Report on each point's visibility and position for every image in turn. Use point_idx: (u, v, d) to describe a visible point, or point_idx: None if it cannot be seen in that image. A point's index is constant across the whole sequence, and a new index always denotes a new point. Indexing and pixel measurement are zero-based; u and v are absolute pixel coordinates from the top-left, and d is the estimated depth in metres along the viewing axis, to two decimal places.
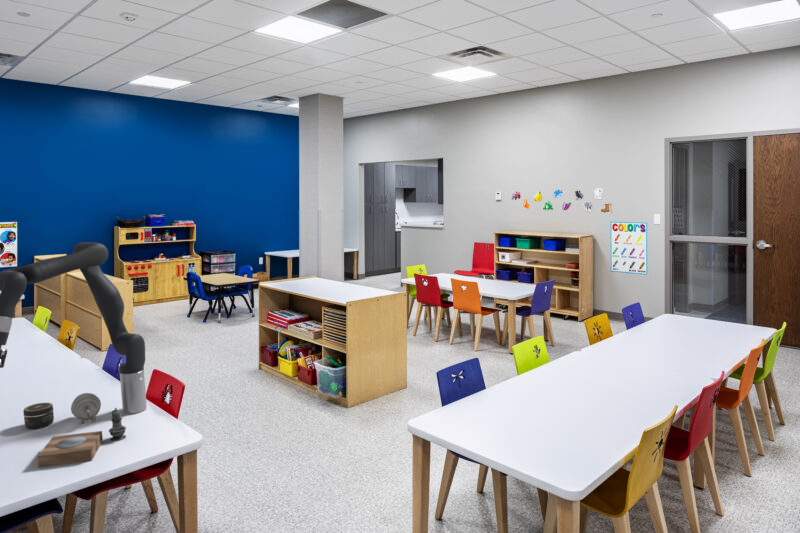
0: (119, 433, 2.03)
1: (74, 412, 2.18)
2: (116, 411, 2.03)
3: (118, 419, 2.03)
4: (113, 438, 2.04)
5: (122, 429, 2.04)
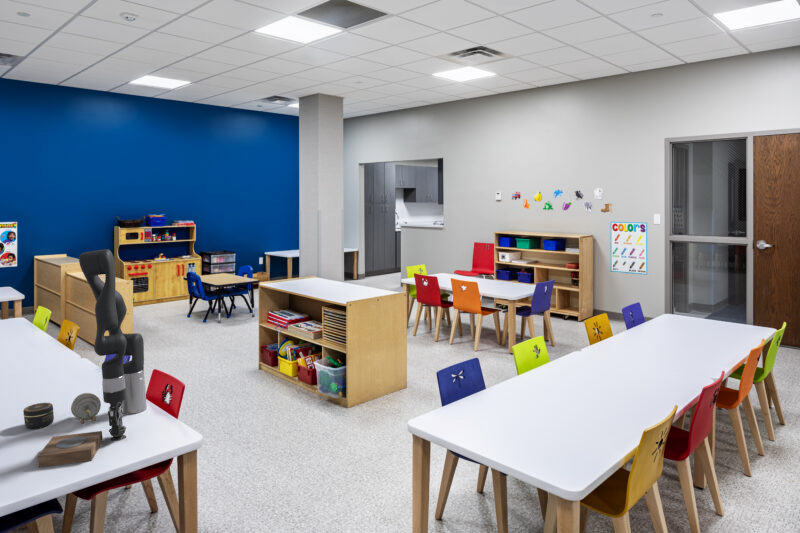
0: (119, 433, 2.03)
1: (74, 412, 2.18)
2: None
3: None
4: (113, 438, 2.04)
5: (122, 429, 2.04)
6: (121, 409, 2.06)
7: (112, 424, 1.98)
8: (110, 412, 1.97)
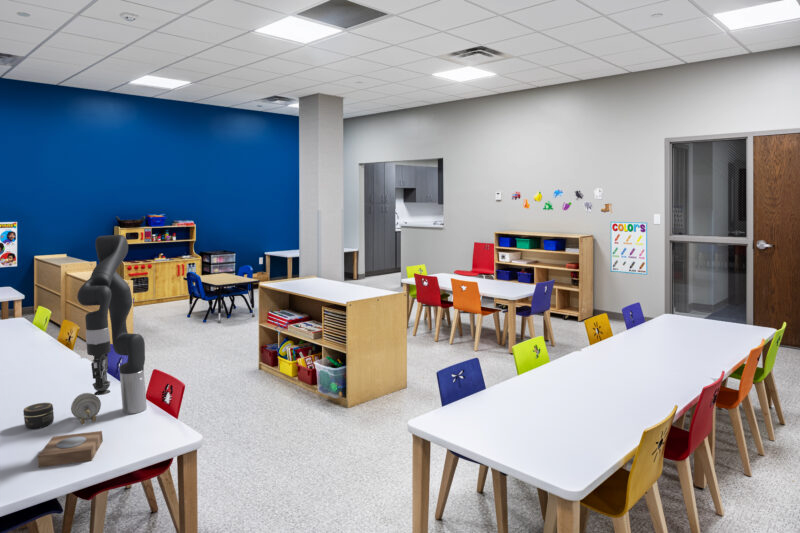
0: (103, 387, 1.97)
1: (74, 412, 2.18)
2: None
3: None
4: (97, 392, 1.98)
5: (106, 383, 1.98)
6: (105, 363, 2.00)
7: (96, 376, 1.93)
8: (94, 364, 1.92)
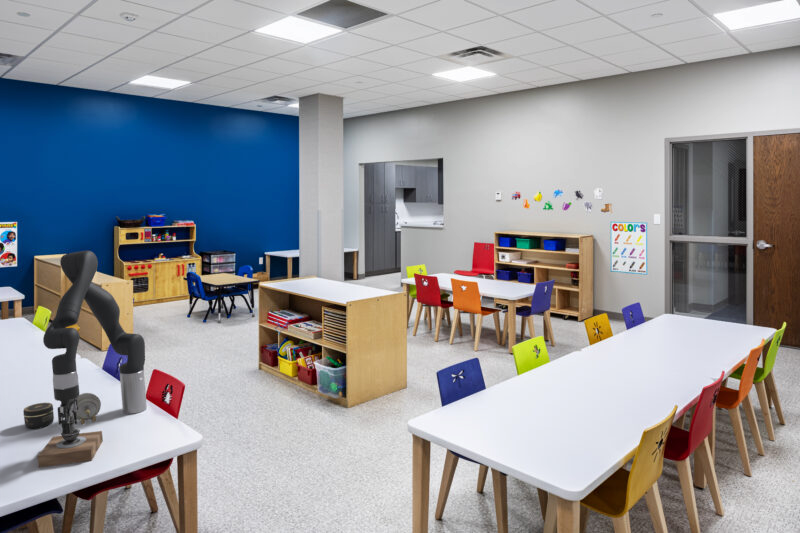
0: (72, 436, 1.90)
1: None
2: None
3: (71, 421, 1.91)
4: (66, 442, 1.91)
5: (75, 432, 1.91)
6: (74, 406, 1.93)
7: (62, 422, 1.85)
8: (60, 408, 1.84)
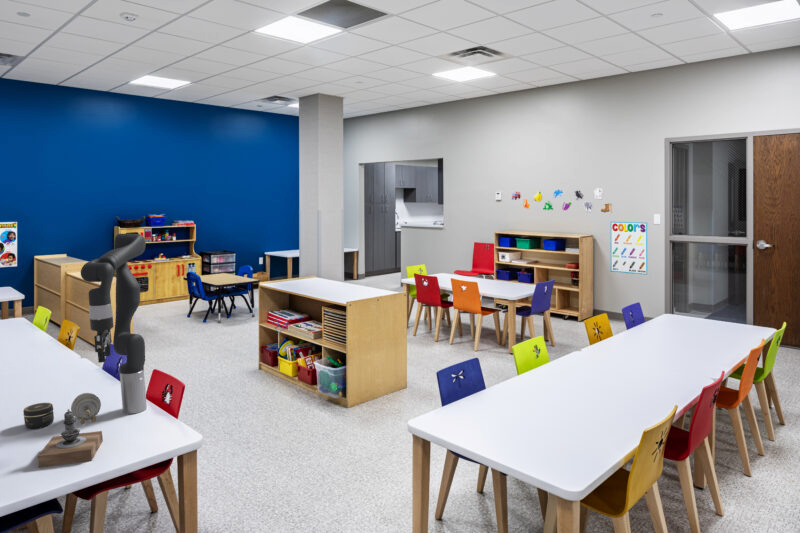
0: (72, 436, 1.90)
1: (74, 412, 2.18)
2: (69, 413, 1.91)
3: (71, 421, 1.91)
4: (66, 442, 1.91)
5: (75, 432, 1.91)
6: (109, 338, 2.05)
7: (98, 350, 1.96)
8: (97, 336, 1.96)
